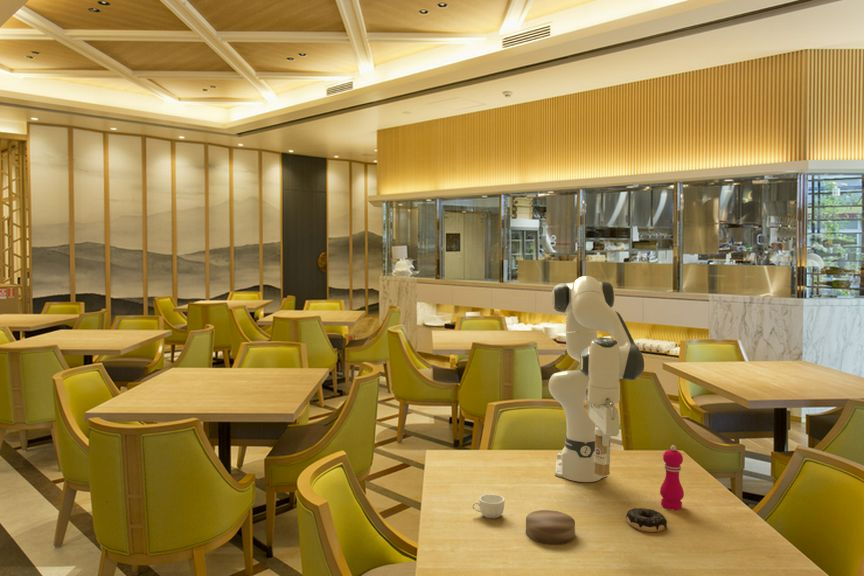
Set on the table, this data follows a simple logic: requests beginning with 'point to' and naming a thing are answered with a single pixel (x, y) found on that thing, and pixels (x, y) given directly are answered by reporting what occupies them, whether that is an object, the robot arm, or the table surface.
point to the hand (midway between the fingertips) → (602, 442)
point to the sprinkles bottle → (601, 455)
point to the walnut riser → (550, 527)
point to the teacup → (490, 505)
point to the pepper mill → (672, 480)
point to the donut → (646, 520)
